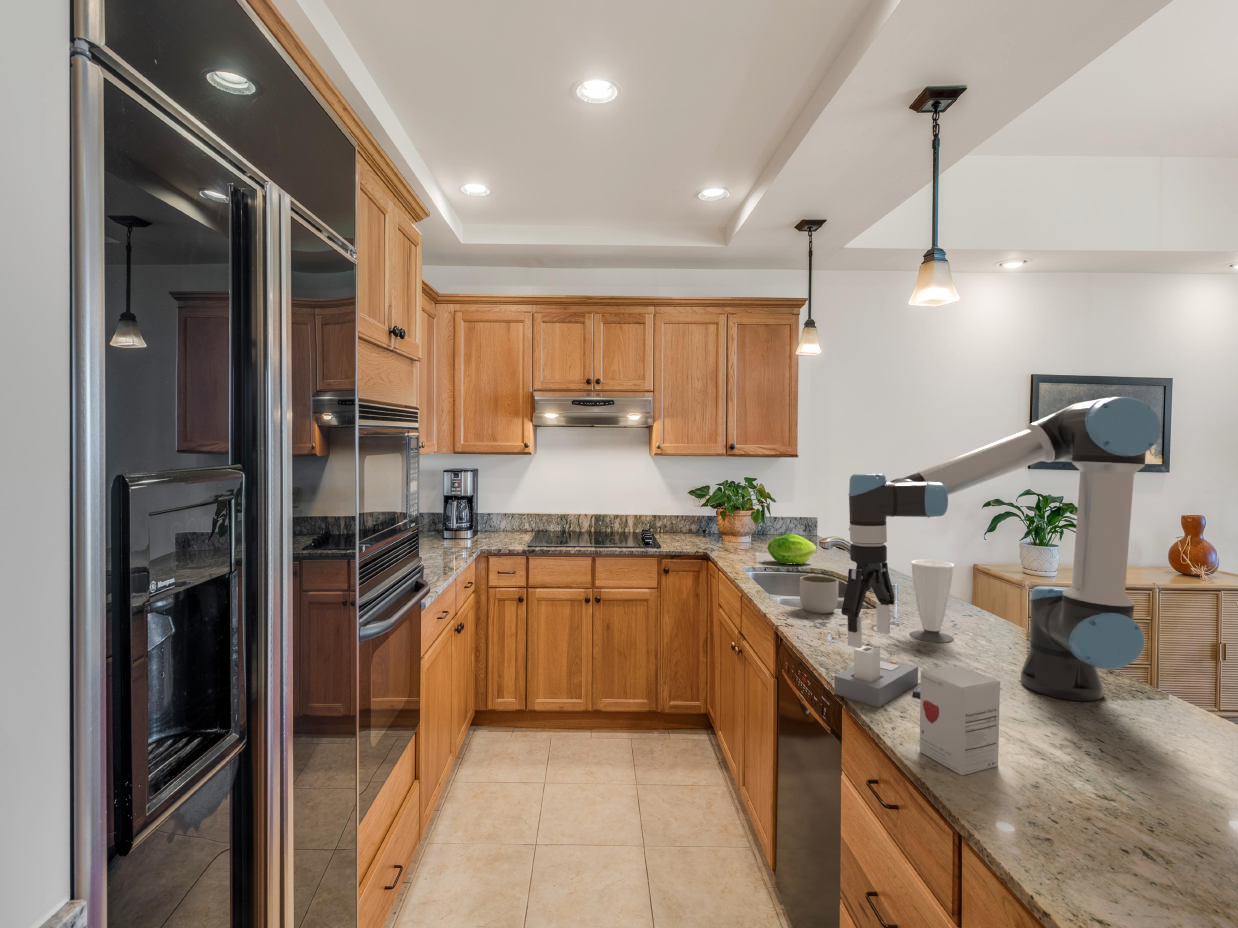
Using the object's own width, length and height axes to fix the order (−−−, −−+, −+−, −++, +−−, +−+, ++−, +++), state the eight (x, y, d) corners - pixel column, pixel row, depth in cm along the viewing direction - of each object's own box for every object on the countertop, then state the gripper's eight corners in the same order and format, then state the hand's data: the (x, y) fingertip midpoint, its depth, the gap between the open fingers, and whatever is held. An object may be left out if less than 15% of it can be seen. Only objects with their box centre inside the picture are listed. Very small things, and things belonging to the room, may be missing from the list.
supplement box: (917, 751, 109) (918, 668, 109) (954, 743, 112) (955, 662, 112) (961, 776, 101) (962, 686, 100) (1000, 767, 104) (1001, 679, 104)
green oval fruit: (812, 559, 301) (818, 569, 285) (765, 558, 303) (769, 568, 288) (813, 530, 298) (819, 539, 283) (765, 529, 301) (769, 538, 285)
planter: (812, 604, 215) (813, 573, 215) (845, 611, 205) (845, 579, 205) (792, 610, 207) (792, 578, 207) (824, 618, 197) (825, 584, 197)
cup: (960, 643, 171) (961, 567, 170) (916, 641, 173) (917, 565, 172) (945, 631, 182) (946, 559, 182) (904, 630, 184) (905, 558, 183)
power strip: (917, 683, 141) (918, 665, 141) (878, 707, 128) (879, 687, 128) (875, 671, 149) (875, 654, 149) (834, 693, 135) (834, 674, 135)
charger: (879, 689, 135) (880, 648, 135) (871, 694, 132) (871, 652, 132) (862, 684, 138) (862, 644, 138) (853, 689, 135) (854, 648, 135)
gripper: (877, 536, 146) (878, 624, 146) (823, 548, 129) (825, 648, 129) (909, 538, 140) (910, 630, 140) (857, 552, 123) (859, 656, 124)
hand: (869, 639), depth 135 cm, fingers open, 13 cm apart
